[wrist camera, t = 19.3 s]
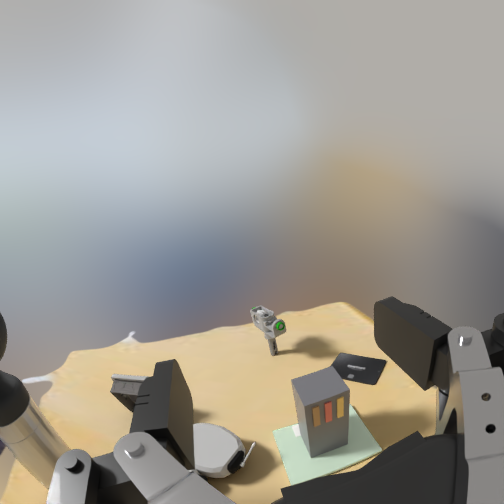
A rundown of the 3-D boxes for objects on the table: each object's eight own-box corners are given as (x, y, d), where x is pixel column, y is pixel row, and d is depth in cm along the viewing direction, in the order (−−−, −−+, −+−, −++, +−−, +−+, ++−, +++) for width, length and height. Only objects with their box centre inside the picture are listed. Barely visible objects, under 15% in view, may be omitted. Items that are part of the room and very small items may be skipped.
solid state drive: (374, 387, 42) (374, 384, 42) (324, 376, 49) (324, 373, 48) (386, 362, 47) (386, 360, 47) (340, 354, 54) (340, 352, 53)
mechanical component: (282, 366, 54) (273, 325, 51) (256, 347, 63) (247, 308, 60) (294, 360, 55) (287, 318, 53) (267, 341, 64) (259, 303, 62)
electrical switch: (174, 403, 48) (154, 370, 45) (166, 423, 43) (143, 390, 40) (135, 399, 50) (114, 367, 47) (126, 417, 45) (102, 386, 42)
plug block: (311, 459, 31) (304, 407, 27) (300, 434, 36) (291, 379, 32) (348, 445, 31) (350, 390, 28) (334, 421, 36) (332, 365, 33)
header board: (291, 486, 27) (282, 452, 25) (272, 432, 38) (261, 392, 35) (381, 451, 29) (389, 410, 26) (350, 405, 39) (350, 363, 37)
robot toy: (204, 526, 23) (263, 452, 34) (190, 517, 21) (256, 437, 33) (144, 485, 30) (201, 426, 41) (129, 472, 28) (191, 411, 40)
